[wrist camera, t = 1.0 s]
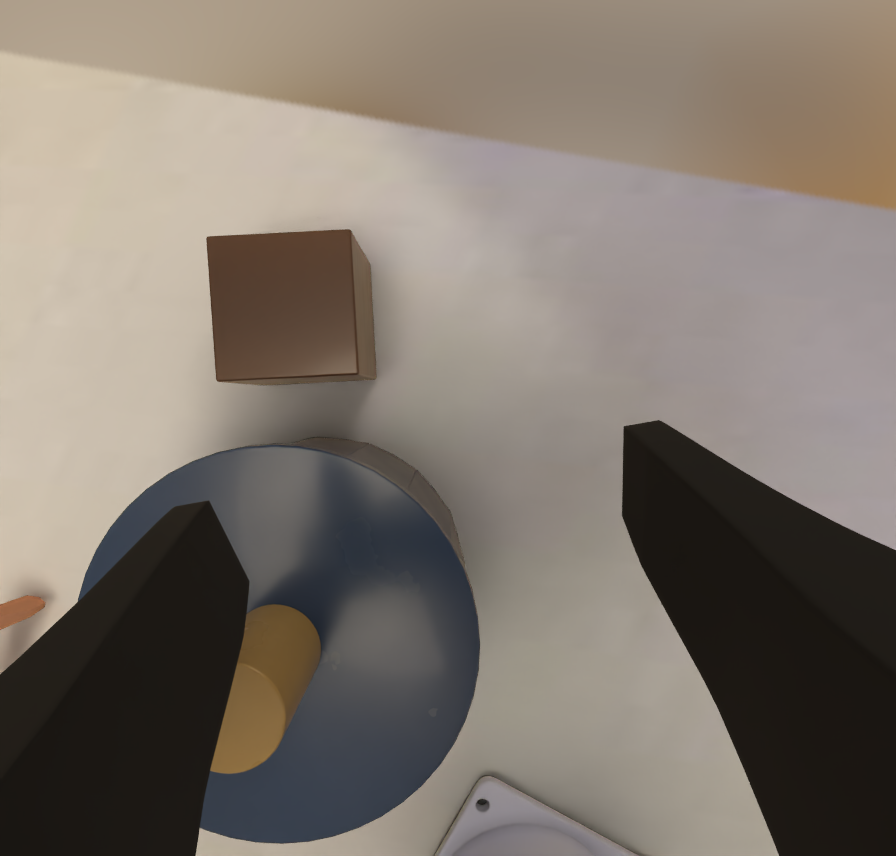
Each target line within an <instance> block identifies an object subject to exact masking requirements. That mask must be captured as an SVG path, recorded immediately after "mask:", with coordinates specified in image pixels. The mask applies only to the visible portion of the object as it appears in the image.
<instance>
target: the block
mask: <svg viewBox="0 0 896 856" xmlns="http://www.w3.org/2000/svg"><path fill="white" fill-rule="evenodd" d="M207 253H208V268H209V282H210V296H211V311H212V325H213V340H214V354H215V369H216V380H217V381H218V382H228V383H240V384H253V385H279V384H299V383H319V382H339V381H359V380H375V379H376V378H377V376H376V358H375V340H374V322H373V304H372V286H371V268H370V263H369V261H368V259H367V258H366V256H365V254H364V253H363V251H362V249H361V247H360V246H359V244H358V242H357V240H356V239H355V237H354V235H353V234H352V232H351V230H349V229H345V230H326V231H306V232H287V233H267V234H248V235H228V236H209V237H207Z"/></svg>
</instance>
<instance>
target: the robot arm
mask: <svg viewBox="0 0 896 856" xmlns="http://www.w3.org/2000/svg"><path fill="white" fill-rule="evenodd" d="M622 517H623V519H624V522H625V525H626V527H627V530H628V533H629V535H630V538H631V541H632V543H633V546H634V548H635V551H636V553H637V556H638V558H639V561H640V563H641V566H642V568H643V569H644V571H645V573H646V575H647V577H648V579H649V581H650V583H651V585H652V586H653V588H654V590H655V592H656V594H657V596H658V597H659V599H660V601H661V603H662V605H663V607H664V609H665V610H666V612H667V614H668V616H669V618H670V619H671V621H672V623H673V625H674V627H675V629H676V630H677V632H678V634H679V636H680V638H681V639H682V641H683V643H684V645H685V647H686V649H687V650H688V652H689V654H690V656H691V658H692V660H693V661H694V663H695V665H696V667H697V669H698V670H699V672H700V674H701V676H702V678H703V680H704V681H705V683H706V685H707V687H708V689H709V691H710V693H711V695H712V698H713V700H714V702H715V704H716V706H717V708H718V710H719V712H720V714H721V717H722V719H723V721H724V724H725V726H726V728H727V731H728V733H729V735H730V737H731V740H732V742H733V744H734V747H735V749H736V751H737V754H738V756H739V758H740V761H741V763H742V765H743V768H744V770H745V772H746V775H747V777H748V780H749V782H750V785H751V787H752V790H753V792H754V794H755V797H756V799H757V802H758V804H759V807H760V809H761V812H762V814H763V816H764V819H765V821H766V824H767V826H768V829H769V831H770V833H771V836H772V838H773V841H774V843H775V846H776V849H777V851H778V854H779V856H896V550H894V549H892V548H889V547H887V546H885V545H883V544H880V543H878V542H876V541H874V540H872V539H869V538H867V537H865V536H863V535H860V534H858V533H856V532H854V531H852V530H850V529H848V528H846V527H844V526H842V525H840V524H838V523H836V522H834V521H832V520H830V519H828V518H826V517H824V516H822V515H820V514H818V513H817V512H815V511H813V510H811V509H809V508H807V507H805V506H803V505H801V504H799V503H797V502H796V501H794V500H792V499H790V498H788V497H786V496H785V495H783V494H781V493H779V492H778V491H776V490H774V489H772V488H770V487H769V486H767V485H765V484H763V483H762V482H760V481H758V480H757V479H755V478H753V477H751V476H750V475H748V474H746V473H745V472H743V471H741V470H740V469H738V468H736V467H735V466H733V465H731V464H730V463H728V462H727V461H725V460H723V459H722V458H720V457H718V456H717V455H715V454H714V453H712V452H710V451H709V450H707V449H706V448H704V447H702V446H701V445H699V444H698V443H696V442H694V441H693V440H691V439H690V438H688V437H686V436H685V435H683V434H682V433H680V432H678V431H677V430H675V429H674V428H672V427H670V426H669V425H667V424H665V423H663V422H662V421H660V420H657V421H652V422H646V423H640V424H635V425H629V426H624V443H623V496H622ZM249 583H250V581H249V579H248V577H247V575H246V573H245V571H244V569H243V567H242V565H241V563H240V561H239V559H238V557H237V555H236V553H235V551H234V549H233V547H232V545H231V543H230V541H229V539H228V537H227V535H226V533H225V531H224V529H223V527H222V525H221V523H220V521H219V519H218V517H217V515H216V513H215V511H214V509H213V507H212V505H211V503H210V501H209V500H208V501H203V502H197V503H191V504H186V505H180V506H175V507H173V508H172V509H171V510H170V511H169V512H168V513H166V514H165V515H164V516H163V517H162V518H161V519H160V520H159V521H158V522H157V523H156V524H155V525H154V526H153V527H152V528H151V529H150V530H149V531H148V532H147V533H146V534H145V535H144V536H143V537H142V538H141V539H140V540H139V541H138V542H137V543H136V544H135V545H134V546H133V547H132V548H131V549H130V550H129V551H128V552H127V553H126V554H125V555H124V556H123V557H122V558H121V559H120V560H119V561H118V562H117V563H116V564H115V565H114V566H113V567H112V568H111V569H110V570H109V571H108V572H107V573H106V574H105V575H104V576H103V577H102V578H101V579H100V580H99V581H98V582H97V583H96V584H95V585H94V586H93V587H92V588H91V589H90V590H89V591H88V592H87V593H86V594H85V595H84V597H83V598H82V599H81V600H80V601H78V602H77V603H76V604H75V605H74V606H73V607H72V608H71V609H70V610H69V611H68V612H67V613H66V614H65V615H64V616H63V617H62V618H61V619H60V620H58V621H57V622H56V623H55V624H54V625H53V626H52V627H51V628H50V629H49V630H48V631H47V632H46V633H45V634H44V635H43V636H42V637H40V638H39V639H38V640H37V641H36V642H35V643H34V644H33V645H32V646H31V647H30V648H29V649H28V650H27V651H26V652H25V653H24V654H22V655H21V656H20V657H19V658H18V659H17V660H16V661H15V662H14V663H13V664H11V665H10V666H9V667H8V668H7V669H6V670H5V671H4V672H2V673H1V674H0V856H195V855H196V848H197V842H198V835H199V829H200V822H201V816H202V809H203V803H204V797H205V792H206V788H207V783H208V778H209V774H210V769H211V765H212V761H213V757H214V753H215V749H216V745H217V741H218V737H219V733H220V729H221V726H222V722H223V718H224V714H225V710H226V706H227V702H228V698H229V694H230V690H231V686H232V682H233V678H234V674H235V670H236V666H237V662H238V658H239V654H240V650H241V646H242V641H243V637H244V630H245V622H246V614H247V604H248V594H249ZM479 799H486V800H487V801H488V802H487V803H486V804H484V805H480V804H478V803H477V801H478V800H479ZM435 856H638V855H637V854H635V853H633V852H631V851H629V850H627V849H625V848H624V847H622V846H620V845H618V844H616V843H614V842H613V841H611V840H609V839H607V838H605V837H603V836H602V835H600V834H598V833H596V832H594V831H592V830H590V829H589V828H587V827H585V826H583V825H581V824H579V823H578V822H576V821H574V820H572V819H570V818H568V817H566V816H565V815H563V814H561V813H559V812H557V811H555V810H554V809H552V808H550V807H548V806H546V805H544V804H543V803H541V802H539V801H537V800H535V799H533V798H531V797H530V796H528V795H526V794H524V793H522V792H520V791H519V790H517V789H515V788H513V787H511V786H509V785H507V784H506V783H504V782H502V781H500V780H498V779H496V778H495V777H491V776H484V777H482V778H480V779H479V781H478V782H477V783H476V785H475V787H474V788H473V790H472V792H471V794H470V795H469V797H468V799H467V800H466V802H465V804H464V806H463V807H462V809H461V811H460V813H459V814H458V816H457V818H456V820H455V821H454V823H453V825H452V826H451V828H450V830H449V832H448V833H447V835H446V837H445V839H444V840H443V842H442V844H441V845H440V847H439V849H438V851H437V852H436V854H435Z"/></svg>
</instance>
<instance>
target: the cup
mask: <svg viewBox="0 0 896 856" xmlns="http://www.w3.org/2000/svg"><path fill="white" fill-rule="evenodd" d="M292 444H295V445H305V446H311V447H316V448H322V449H327V450H330V451H333V452H337V453H340V454H343V455H346V456H349V457H352V458H354V459H357V460H359V461H361V462H363V463H365V464H367V465H369V466H371V467H374V468H376V469H377V470H379V471H381V472H382V473H384V474H385V475H387V476H388V477H390V478H391V479H393V480H395V481H396V482H398V483H399V484H400V485H401V486H403V487H404V488H405V489H406V490H407V491H409V492H410V493H411V494H412V495H413V496H415V497H416V498H417V499H418V500H419V501H420V502H421V503H422V504H423V505H424V506H425V507H426V509H427V510H428V511H429V512H430V513H431V514H432V515H433V516H434V517H435V518H436V520H437V521H438V522H439V524H440V525H441V527H442V528H443V530H444V531H445V532H446V534H447V535H448V537H449V538H450V540H451V541H452V543H453V545H454V547H455V549H456V551H457V553H458V555H459V557H460V559H461V561H462V562H463V565H464V568H465V561H464V557H463V554H462V550H461V547H460V543H459V539H458V534H457V532H456V529H455V526H454V522H453V519H452V515H451V512H450V510H449V509H448V508H447V506H446V505H445V504H444V502H443V501H442V500H441V498H440V497H439V495H438V494H437V492H436V491H435V490H434V488H433V487H432V486H431V485H430V484H429V483H428V482H427V481H426V479H425V478H424V477H423V476H422V475H421V474H420V473H419V471H418V470H416V469H415V468H413V467H412V466H410V465H409V464H407V463H406V462H404V461H403V460H401V459H399V458H398V457H396V456H395V455H393V454H391V453H389V452H386V451H384V450H382V449H380V448H378V447H376V446H374V445H372V444H369V443H365V442H357V441H352V440H346V439H331V438H322V437H313V438H310V439H306V440H302V441H299V442H295V443H292Z"/></svg>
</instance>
